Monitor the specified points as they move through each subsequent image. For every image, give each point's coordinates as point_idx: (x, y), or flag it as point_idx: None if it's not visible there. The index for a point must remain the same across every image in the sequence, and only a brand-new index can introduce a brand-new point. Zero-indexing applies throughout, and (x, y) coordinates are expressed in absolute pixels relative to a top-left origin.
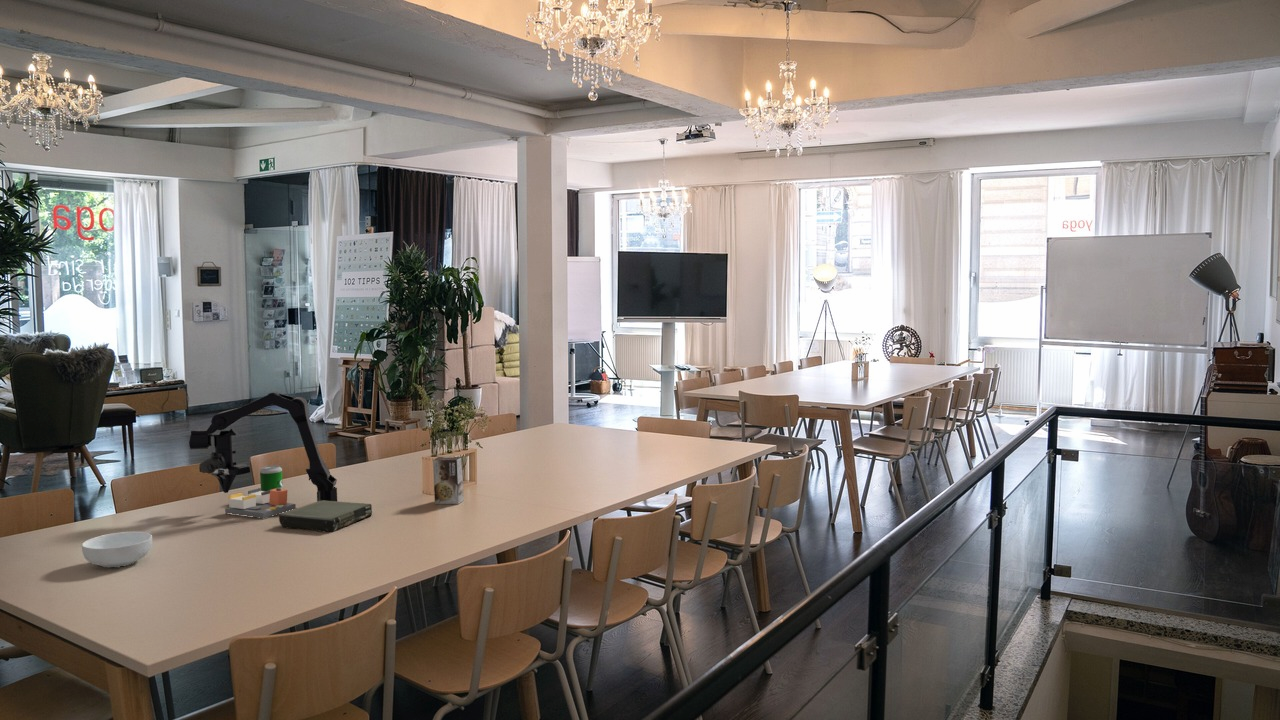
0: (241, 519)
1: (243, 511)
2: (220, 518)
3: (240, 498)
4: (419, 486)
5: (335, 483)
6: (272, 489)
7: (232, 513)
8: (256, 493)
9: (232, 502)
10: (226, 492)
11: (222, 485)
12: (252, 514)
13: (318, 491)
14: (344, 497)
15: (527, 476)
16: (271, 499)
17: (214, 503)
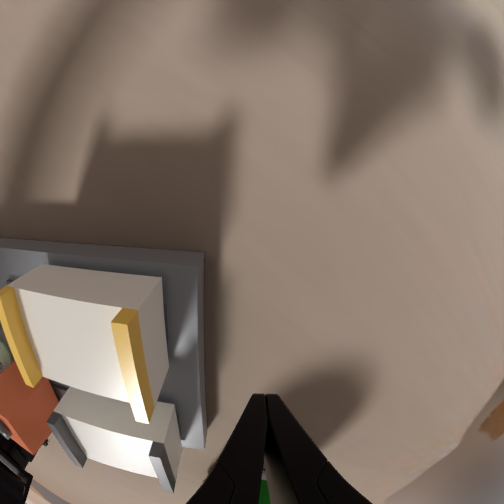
0: (30, 190)
1: (43, 249)
2: (141, 152)
3: (68, 335)
4: (65, 500)
5: (17, 475)
6: (13, 429)
7: (136, 251)
8: (126, 447)
9: (111, 290)
10: (250, 400)
11: (285, 449)
12: (7, 242)
13: (10, 445)
14: (74, 474)
15: (34, 499)
16: (25, 387)
17: (429, 383)
